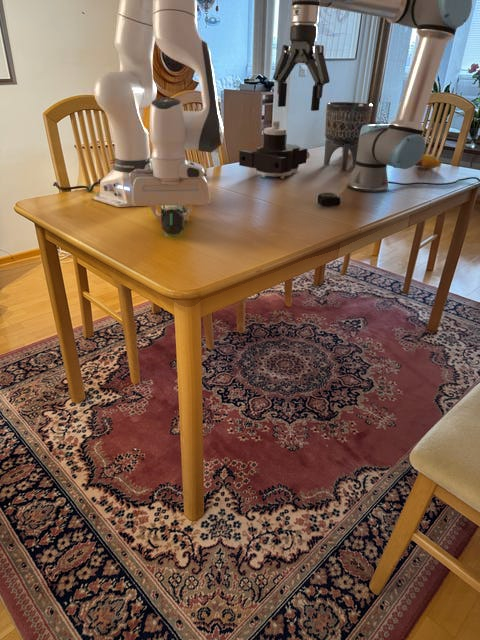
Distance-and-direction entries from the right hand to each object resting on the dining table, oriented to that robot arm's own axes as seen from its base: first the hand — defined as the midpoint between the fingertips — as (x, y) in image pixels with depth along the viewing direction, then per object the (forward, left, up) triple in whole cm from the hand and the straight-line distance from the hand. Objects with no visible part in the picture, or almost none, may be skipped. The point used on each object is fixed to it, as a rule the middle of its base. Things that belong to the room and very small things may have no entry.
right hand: (297, 108), depth 137 cm
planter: (-25, -69, -30) cm, 80 cm away
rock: (+39, -35, -30) cm, 60 cm away
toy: (-65, -75, -30) cm, 103 cm away
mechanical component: (+3, -51, -30) cm, 60 cm away
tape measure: (-13, -3, -30) cm, 33 cm away
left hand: (+33, +33, -26) cm, 53 cm away
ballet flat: (+34, +25, -30) cm, 52 cm away
